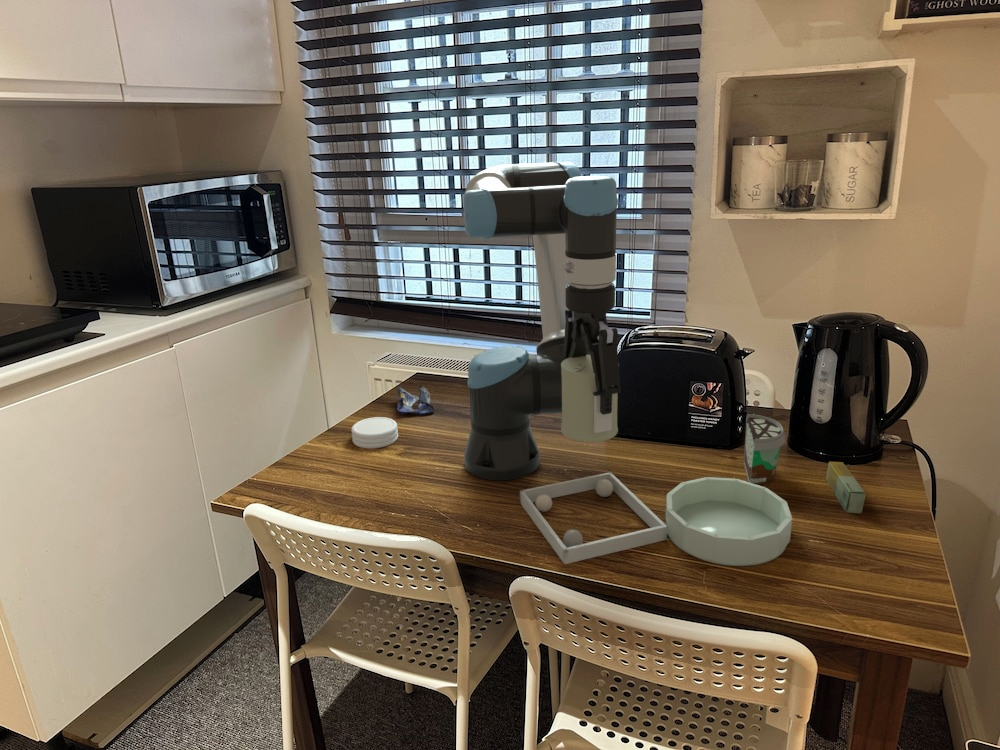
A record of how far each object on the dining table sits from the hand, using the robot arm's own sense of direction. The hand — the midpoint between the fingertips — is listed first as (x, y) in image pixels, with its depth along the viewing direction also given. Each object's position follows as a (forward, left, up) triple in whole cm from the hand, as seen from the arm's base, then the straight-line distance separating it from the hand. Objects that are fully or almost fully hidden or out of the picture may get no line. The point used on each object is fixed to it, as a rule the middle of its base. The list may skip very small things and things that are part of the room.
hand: (589, 418), depth 115 cm
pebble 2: (+7, -6, -19) cm, 21 cm away
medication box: (+10, +45, -19) cm, 50 cm away
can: (0, 0, -2) cm, 2 cm away
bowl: (+12, +19, -19) cm, 29 cm away
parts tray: (0, 0, -19) cm, 19 cm away
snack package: (-61, -17, -19) cm, 67 cm away
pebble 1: (-6, -6, -19) cm, 21 cm away
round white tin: (-48, -29, -19) cm, 59 cm away
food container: (-2, +37, -19) cm, 42 cm away
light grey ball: (-6, +6, -19) cm, 21 cm away
